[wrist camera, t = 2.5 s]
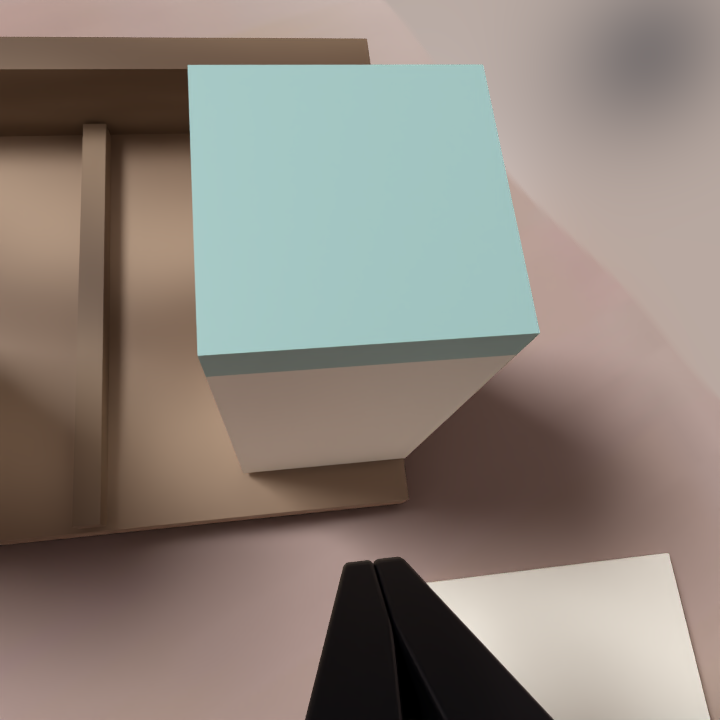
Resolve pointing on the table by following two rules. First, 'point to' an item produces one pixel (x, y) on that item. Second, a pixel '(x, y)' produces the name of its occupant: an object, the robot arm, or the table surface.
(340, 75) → the white tall block
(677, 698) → the pattern card
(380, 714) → the robot arm
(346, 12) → the table surface
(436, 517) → the table surface
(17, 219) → the brown divided rack
